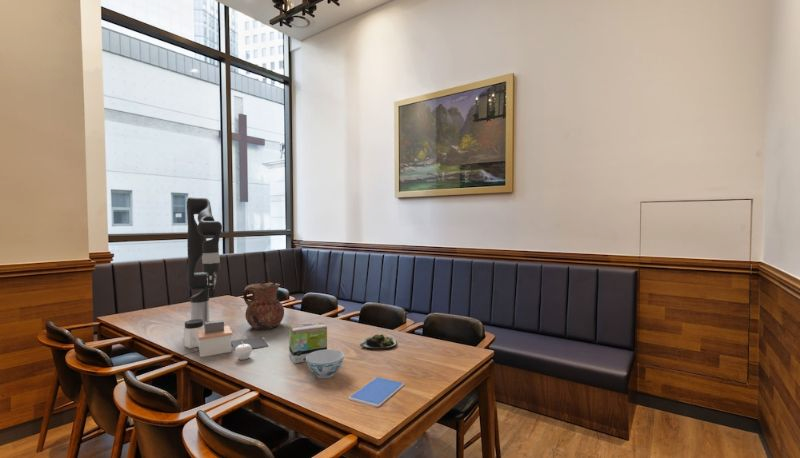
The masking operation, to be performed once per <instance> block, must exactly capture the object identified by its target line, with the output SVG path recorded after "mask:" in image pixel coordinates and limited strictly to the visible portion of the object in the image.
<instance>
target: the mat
mask: <svg viewBox="0 0 800 458" xmlns="http://www.w3.org/2000/svg"><path fill="white" fill-rule="evenodd" d="M241 341H242V342H243V343H244V344H249V345H250V346H251V347H252V350H255V349H262V348H268V347H269V344H268V343H267V341H266V340H265V339H264V337H262V336H255V337H249V338H242V339H238V340H237V339H236V340H231V347H232V348H233V349H234V351H235V348H236V347H237V346H239V345H242V342H241Z"/></svg>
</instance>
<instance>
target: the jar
mask: <svg viewBox="0 0 800 458" xmlns="http://www.w3.org/2000/svg"><path fill="white" fill-rule="evenodd" d="M200 329H204V325H203V320H202V319H194V320H191V319H189V320H186V321H184V327H183V347H185V348H189V349H191V348H197V347H198V348H199V339H198V334H197V330H200Z"/></svg>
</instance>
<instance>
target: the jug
mask: <svg viewBox="0 0 800 458" xmlns="http://www.w3.org/2000/svg"><path fill="white" fill-rule="evenodd" d="M280 286H281V284H280V283H277V282H276V283H274V282H266V283H252V284H249V285H246V286H245V288H244V291H243V294H242V295H243V297H242V298H243V300H244V303H245V304H246V305H247V307H246V310H245V313H244V314H245V320H246V322H247V324H248V325H249V326H250V327H251V328H253V329H255V330H269V329H273V328H275V327H277V326H279V325H280V323H282V321H283V319H284V317H285V309H284V306H283V303H282V302H281V301H280V300H279V299H278V298H277V295H278V294H277V293H278V290H279V288H280ZM248 292H251V294H252V299H251V300H249V298H248V294H247V293H248Z"/></svg>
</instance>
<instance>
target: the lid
mask: <svg viewBox="0 0 800 458" xmlns="http://www.w3.org/2000/svg"><path fill="white" fill-rule="evenodd" d="M209 321H210V322H205V329H200V330H197V334H198V339H199V340H204V339H210V338H217V337H223V336H229V335H231V336H233V331H232V328H231V327H230V325H225V321H224V319H219V320H209Z"/></svg>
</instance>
